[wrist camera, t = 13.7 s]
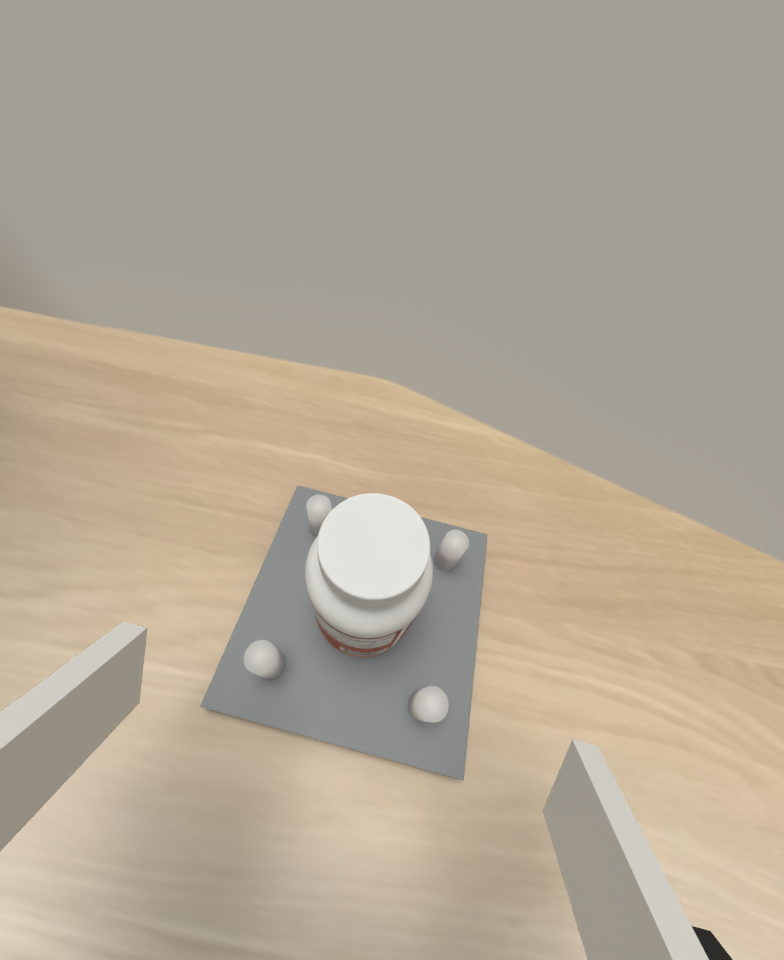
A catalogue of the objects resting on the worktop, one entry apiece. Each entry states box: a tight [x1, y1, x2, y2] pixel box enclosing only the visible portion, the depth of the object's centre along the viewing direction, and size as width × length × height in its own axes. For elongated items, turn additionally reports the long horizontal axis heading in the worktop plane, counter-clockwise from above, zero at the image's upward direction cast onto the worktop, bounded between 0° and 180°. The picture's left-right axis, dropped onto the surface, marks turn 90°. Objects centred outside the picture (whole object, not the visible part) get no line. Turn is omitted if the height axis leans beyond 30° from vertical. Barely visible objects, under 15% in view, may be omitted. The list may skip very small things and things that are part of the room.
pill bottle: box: [305, 493, 433, 657], centre depth 20 cm, size 6×6×11 cm
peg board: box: [200, 486, 487, 780], centre depth 24 cm, size 15×15×5 cm
